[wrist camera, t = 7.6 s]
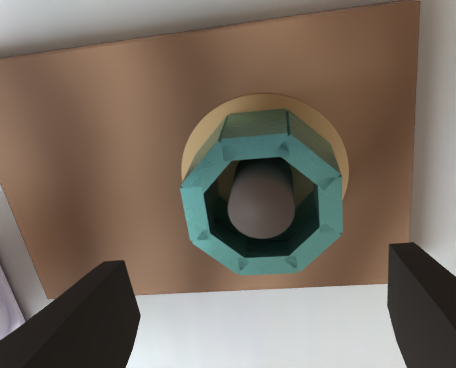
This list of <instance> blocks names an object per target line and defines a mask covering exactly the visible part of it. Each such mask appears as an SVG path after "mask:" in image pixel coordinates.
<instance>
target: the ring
mask: <svg viewBox="0 0 456 368" xmlns="http://www.w3.org/2000/svg"><path fill="white" fill-rule="evenodd" d="M270 157H282V158H283V159H285V160H286V161H287V162H288V163H290V164H291V165H292V166H293V167H295V168H296V169H297V170H299V171H300V172H301V173H302V174H304V175H305V176H306V177H308V178H309V179H310V180H311V181H313V191H312V192H311V193H310V194H309V195H308V196H307V197H306V198H305V199H304V200H303V201H302V202H301V203H300V204H299V205H298V206H297V207H296V208H295V214H294V218H293V221H292V223H291V224H290V226H289V227H288V228H287V229H286V230H285V231H284V232H283V233H281V234H279V235H277V236H275V237H271V238H266V239H259V238H253V237H249V236H247V235H245V234H243V233H241V232H240V231H239V230H237V229H236V227H235V226H234V225H233V224H232V222H231V220H230V218H229V214H228V202H227V201H225V200H224V199H223V198H221V197H220V195H219V188H218V182H217V177H218V176H219V175H220V174H221V172H222V171H223V170H224V169H225V168H226V167H227V165H228V164H229V163H230V162H231V161H233V160H245V159H257V158H270ZM180 191H181V196H182V201H183V207H184V212H185V217H186V222H187V227H188V232H189V237H190V241H192V243H193V244H194V245H195V246H197V247H198V248H200V249H201V250H203V251H204V252H205V253H207V254H208V255H210V256H211V257H213V258H214V259H216V260H217V261H218V262H220V263H221V264H223V265H224V266H226V267H227V268H229V269H230V270H231V271H233V272H234V273H236V274H237V275H238V274H239V273H240V275H264V274H289V273H298V272H297V270H298V271H299V272H301V271H302V270H303V269H304V268H305V267H307V266H308V265H309V264H310V263H311V262H312V261H313V260H314V259H316V258H317V257H318V256H319V255H320V254H321V253H322V252H323V251H324V250H326V249H327V248H328V247H329V246H330V245H331V244H332V243H333V242H335V241H336V240H337V239H338V238H339V237H340V236H341V235H342V234H341V233H343V208H342V175H341V172H340V169H339V166H338V163H337V160H336V157H335V155H334V152H333V149H332V146H331V144H330V143H329V142H328V141H327V140H326V139H325V138H323V137H322V136H321V135H320V134H318V133H317V132H316V131H315V130H314V129H312V128H311V127H310V126H309V125H307V124H306V123H305V122H304V121H302V120H301V119H300V118H299V117H298V116H296V115H295V114H294V113H293V112H291V111H290V110H289V109H288V110H287V111H286V108H282V109H272V110H261V111H251V112H241V113H231V114H229V116H228V115H227V116H226V117H225V118H224V119H223V121H222V122H221V123H220V124H219V126H218V127H217V128H216V129H215V131H214V132H213V133H212V134H211V136H210V137H209V138H208V139H207V141H206V142H205V143H204V144H203V146H202V147H201V148H200V149H199V151H198V152H197V153H196V154H195V156H194V158H193V160H192V163H191V165H190V167H189V169H188V171H187V173H186V175H185V177H184V180H183V182H182V184H181V187H180Z"/></svg>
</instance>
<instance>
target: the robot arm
mask: <svg viewBox="0 0 456 368" xmlns="http://www.w3.org/2000/svg"><path fill="white" fill-rule="evenodd" d="M387 306H388V310H389V314H390V318H391V322H392V326H393V329H394V333H395V337H396V340H397V343H398V346H399V349H400V351H401V354H402V356H403V359H404V361H405V364H406V366H407V368H456V277H455V276H454V275H453V274H452V273H450V272H449V271H448V270H447V269H445V268H444V267H443V266H442V265H441V264H439V263H438V262H437V261H436V260H435V259H433V258H432V257H431V256H430V255H429V254H427V253H426V252H425V251H424V250H423V249H421V248H420V247H419V246H418V245H416V244H415V243H414V242H409V243H393V244H389V255H388V304H387ZM140 317H141V315H140V312H139V308H138V305H137V302H136V298H135V295H134V291H133V288H132V285H131V281H130V278H129V274H128V271H127V268H126V264H125V261H124V260H116V261H104V262H102V263H101V264H99V265H98V266H97V267H95V268H94V269H93V270H91V271H90V272H89V273H87V274H86V275H85V276H84V277H82V278H81V279H80V280H79V281H77V282H76V283H75V284H74V285H73V286H71V287H70V288H69V289H68V290H66V291H65V292H64V293H63V294H61V295H60V296H59V297H58V298H56V299H55V300H54V301H53V302H51V303H50V304H49V305H48V306H46V307H45V308H44V309H42V310H41V311H40V312H38V313H37V314H36V315H34V316H33V317H32V318H30V319H29V320H27V321H26V322H25V320H24V317H23V315H22V313H21V311H20V308H19V306H18V304H17V302H16V300H15V297H14V295H13V293H12V291H11V288H10V286H9V284H8V282H7V279H6V277H5V275H4V273H3V270H2V268H1V266H0V368H126V365H127V363H128V360H129V357H130V355H131V352H132V349H133V346H134V342H135V338H136V334H137V330H138V325H139V321H140Z"/></svg>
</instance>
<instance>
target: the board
mask: <svg viewBox="0 0 456 368" xmlns="http://www.w3.org/2000/svg"><path fill="white" fill-rule="evenodd" d="M419 14H420V1H416V0H401V1H394V2H387V3H380V4H373V5H366V6H359V7H352V8H345V9H338V10H331V11H324V12H317V13H310V14H303V15H296V16H289V17H282V18H275V19H269V20H262V21H255V22H248V23H241V24H234V25H227V26H220V27H213V28H206V29H199V30H192V31H185V32H178V33H171V34H164V35H157V36H150V37H143V38H136V39H130V40H123V41H116V42H109V43H102V44H95V45H88V46H81V47H74V48H67V49H60V50H53V51H46V52H39V53H32V54H25V55H18V56H11V57H4V58H0V183H1V186H2V188H3V190H4V193H5V195H6V198H7V200H8V203H9V205H10V208H11V210H12V213H13V215H14V217H15V220H16V222H17V225H18V227H19V230H20V232H21V235H22V237H23V240H24V242H25V244H26V247H27V249H28V252H29V254H30V257H31V259H32V262H33V264H34V267H35V269H36V272H37V274H38V276H39V279H40V281H41V284H42V286H43V289H44V291H45V294H46V296H47V299H56V298H58V297H59V296H60V295H61V294H63V293H64V292H65V291H66V290H68V289H69V288H70V287H71V286H73V285H74V284H75V283H76V282H77V281H79V280H80V279H81V278H82V277H84V276H85V275H86V274H87V273H89V272H90V271H91V270H93V269H94V268H95V267H97V266H98V265H99V264H101V263H102V262H104V261H116V260H124V261H125V264H126V268H127V271H128V274H129V278H130V281H131V285H132V288H133V291H134V295H149V294H171V293H193V292H215V291H237V290H259V289H281V288H303V287H325V286H347V285H369V284H388V255H389V244H393V243H409V236H410V214H411V192H412V170H413V147H414V125H415V103H416V81H417V58H418V36H419ZM282 108H286V111H287V110H288V109H289V110H290V111H291V112H293V113H294V114H295V115H296V116H298V117H299V118H300V119H301V120H302V121H304V122H305V123H306V124H307V125H309V126H310V127H311V128H312V129H314V130H315V131H316V132H317V133H318V134H320V135H321V136H322V137H323V138H325V139H326V140H327V141H328V142H329V143H330V144H331V146H332V149H333V152H334V155H335V157H336V160H337V163H338V166H339V169H340V172H341V175H342V208H343V233H341V234H342V235H341V236H340V237H339V238H338V239H337V240H336V241H335V242H333V243H332V244H331V245H330V246H329V247H328V248H327V249H326V250H324V251H323V252H322V253H321V254H320V255H319V256H318V257H317V258H316V259H314V260H313V261H312V262H311V263H310V264H309V265H308V266H307V267H305V268H304V269H303V270H302V271H301V272H299V271H298V270H297V272H298V273H289V274H264V275H240V273H239V274H238V275H237V274H236V273H234V272H233V271H231V270H230V269H229V268H227V267H226V266H224V265H223V264H221V263H220V262H218V261H217V260H216V259H214V258H213V257H211V256H210V255H208V254H207V253H205V252H204V251H203V250H201V249H200V248H198V247H197V246H195V245H194V244H193V243H192V241H190V237H189V232H188V227H187V222H186V217H185V212H184V207H183V201H182V196H181V191H180V187H181V184H182V182H183V180H184V177H185V175H186V173H187V171H188V169H189V167H190V165H191V163H192V160H193V158H194V156H195V154H196V153H197V152H198V151H199V149H200V148H201V147H202V146H203V144H204V143H205V142H206V141H207V139H208V138H209V137H210V136H211V134H212V133H213V132H214V131H215V129H216V128H217V127H218V126H219V124H220V123H221V122H222V121H223V119H224V118H225V117H226V116H227V115H228V116H229V114H231V113H241V112H251V111H261V110H272V109H282ZM217 182H218V188H219V195H220V197H221V198H223V199H224V200H225V201H227V202H228V214H229V218H230V220H231V222H232V224H233V225H234V226H235V227H236V229H237V230H239V231H240V232H241V233H243V234H245V235H247V236H249V237H253V238H259V239H266V238H271V237H275V236H277V235H279V234H281V233H283V232H284V231H285V230H286V229H287V228H288V227H289V226H290V224H291V223H292V221H293V218H294V214H295V208H296V207H297V206H298V205H299V204H300V203H301V202H302V201H303V200H304V199H305V198H306V197H307V196H308V195H309V194H310V193H311V192H312V191H313V181H311V180H310V179H309V178H308V177H306V176H305V175H304V174H302V173H301V172H300V171H299V170H297V169H296V168H295V167H293V166H292V165H291V164H290V163H288V162H287V161H286V160H285V159H283V158H282V157H270V158H257V159H245V160H233V161H231V162H230V163H229V164H228V165H227V167H226V168H225V169H224V170H223V171H222V172H221V174H220V175H219V176H218V177H217Z"/></svg>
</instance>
